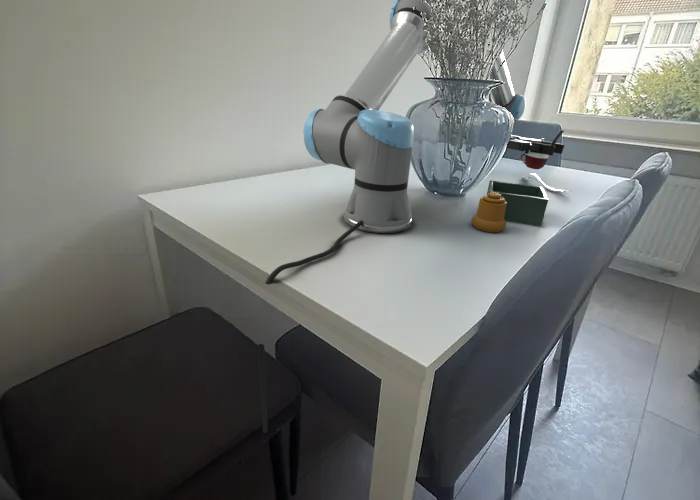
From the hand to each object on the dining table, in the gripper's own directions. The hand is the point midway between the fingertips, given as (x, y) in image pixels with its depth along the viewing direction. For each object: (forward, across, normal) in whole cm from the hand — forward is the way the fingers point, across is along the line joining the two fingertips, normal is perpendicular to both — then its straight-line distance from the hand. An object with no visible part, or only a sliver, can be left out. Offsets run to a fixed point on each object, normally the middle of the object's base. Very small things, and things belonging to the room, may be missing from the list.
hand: (558, 149), depth 113 cm
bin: (+4, +28, -14) cm, 32 cm away
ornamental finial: (+5, +42, -14) cm, 45 cm away
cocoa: (-5, 0, -7) cm, 8 cm away
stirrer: (-4, -8, -14) cm, 16 cm away
